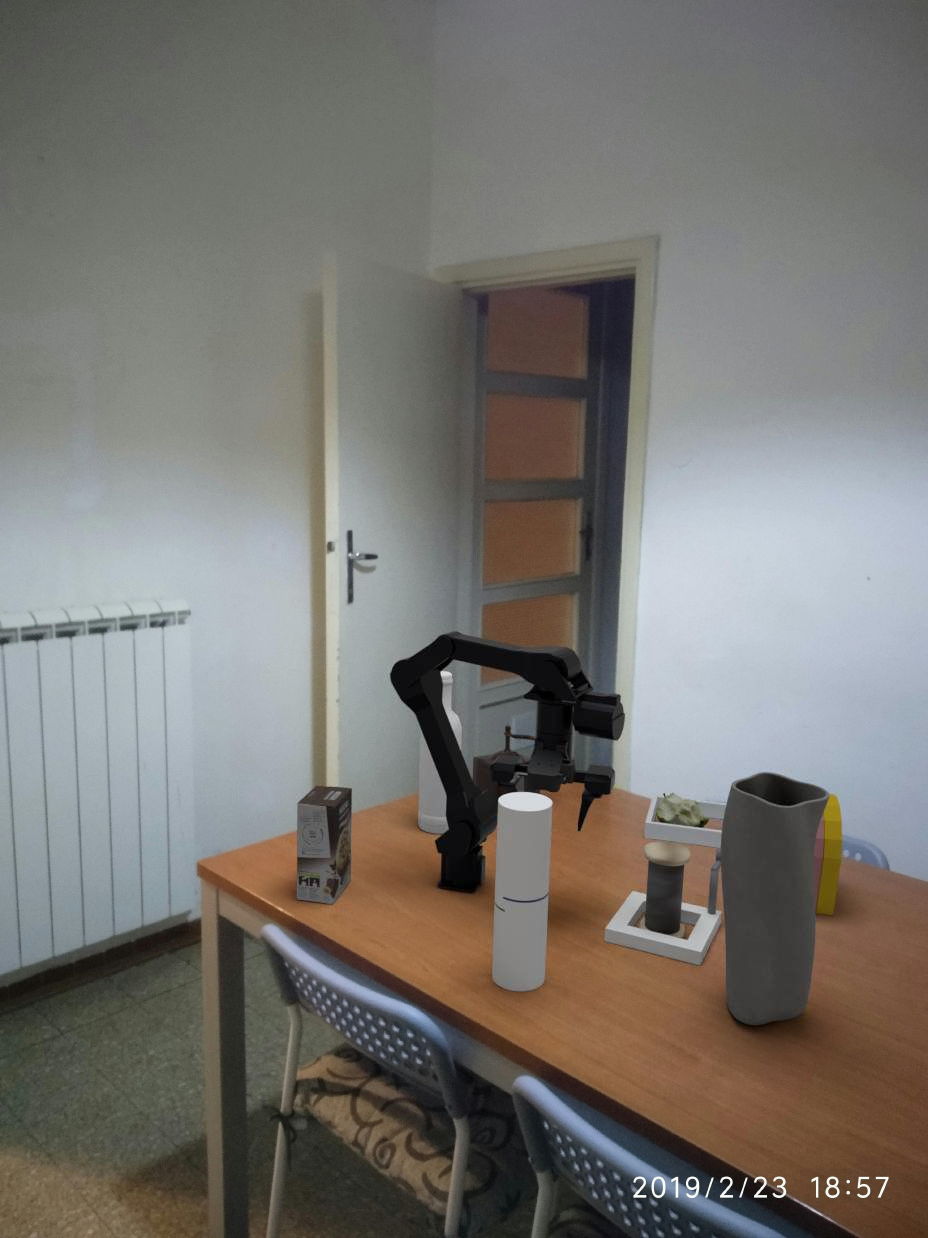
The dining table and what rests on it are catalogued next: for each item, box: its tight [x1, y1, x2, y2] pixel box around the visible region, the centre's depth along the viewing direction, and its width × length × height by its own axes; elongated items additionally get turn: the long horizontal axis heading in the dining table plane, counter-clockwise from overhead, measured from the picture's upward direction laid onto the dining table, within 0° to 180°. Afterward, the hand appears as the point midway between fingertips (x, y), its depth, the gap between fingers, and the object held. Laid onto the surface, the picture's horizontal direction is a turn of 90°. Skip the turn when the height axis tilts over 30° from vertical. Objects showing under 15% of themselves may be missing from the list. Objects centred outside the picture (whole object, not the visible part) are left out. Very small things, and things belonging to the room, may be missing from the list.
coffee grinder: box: [472, 724, 541, 816], centre depth 193 cm, size 16×11×18 cm
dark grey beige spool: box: [639, 841, 691, 939], centre depth 141 cm, size 7×7×13 cm
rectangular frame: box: [604, 848, 722, 966], centre depth 142 cm, size 14×16×11 cm
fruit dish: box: [643, 794, 727, 849], centre depth 183 cm, size 16×16×3 cm
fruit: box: [656, 792, 710, 828], centre depth 181 cm, size 9×9×8 cm
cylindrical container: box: [491, 792, 553, 992], centre depth 127 cm, size 7×7×25 cm
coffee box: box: [296, 785, 353, 905], centre depth 152 cm, size 9×6×16 cm
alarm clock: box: [813, 793, 843, 916], centre depth 154 cm, size 15×8×18 cm, turn 168°
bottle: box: [417, 670, 463, 835], centre depth 178 cm, size 8×8×30 cm
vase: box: [720, 771, 830, 1026], centre depth 120 cm, size 12×12×30 cm
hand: (550, 826), depth 148 cm, fingers open, 9 cm apart
